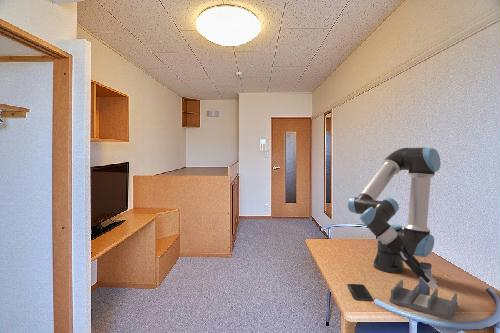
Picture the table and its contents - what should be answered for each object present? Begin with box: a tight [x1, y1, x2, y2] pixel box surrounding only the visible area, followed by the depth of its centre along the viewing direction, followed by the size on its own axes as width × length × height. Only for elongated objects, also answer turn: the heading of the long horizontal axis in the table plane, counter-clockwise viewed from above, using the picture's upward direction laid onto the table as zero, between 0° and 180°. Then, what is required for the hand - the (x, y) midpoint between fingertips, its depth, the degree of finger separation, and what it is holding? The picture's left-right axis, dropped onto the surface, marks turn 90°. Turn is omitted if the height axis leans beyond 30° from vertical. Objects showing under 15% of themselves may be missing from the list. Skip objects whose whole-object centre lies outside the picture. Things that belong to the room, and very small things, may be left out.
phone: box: [346, 283, 374, 302], centre depth 141 cm, size 8×1×15 cm
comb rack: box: [389, 279, 459, 321], centre depth 131 cm, size 15×22×5 cm
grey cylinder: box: [418, 261, 433, 295], centre depth 130 cm, size 4×4×12 cm
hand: (434, 285), depth 129 cm, fingers closed on grey cylinder, 4 cm apart
